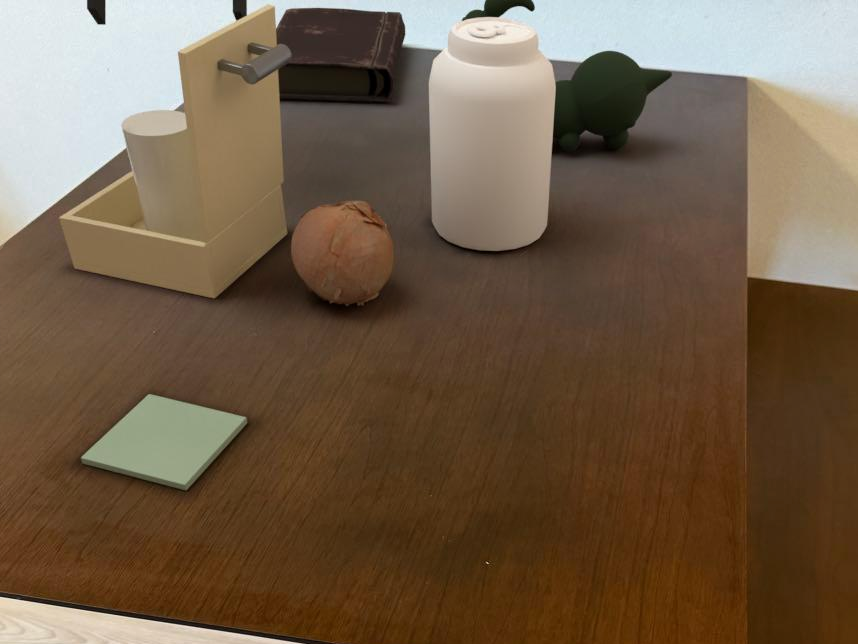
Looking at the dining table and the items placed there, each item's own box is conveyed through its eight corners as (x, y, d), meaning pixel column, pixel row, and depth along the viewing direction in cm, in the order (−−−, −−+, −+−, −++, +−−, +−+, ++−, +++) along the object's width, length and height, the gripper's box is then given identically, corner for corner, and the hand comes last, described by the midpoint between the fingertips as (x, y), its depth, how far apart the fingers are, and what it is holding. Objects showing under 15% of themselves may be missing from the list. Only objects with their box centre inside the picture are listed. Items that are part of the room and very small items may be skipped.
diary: (406, 45, 148) (404, 9, 145) (395, 104, 130) (393, 65, 127) (284, 41, 148) (279, 5, 144) (255, 100, 130) (250, 60, 126)
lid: (177, 51, 76) (228, 64, 76) (267, 4, 86) (313, 15, 86) (200, 241, 88) (244, 254, 87) (277, 180, 98) (318, 191, 97)
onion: (379, 309, 97) (417, 216, 93) (361, 335, 89) (402, 233, 84) (291, 268, 96) (325, 171, 91) (264, 290, 87) (300, 184, 83)
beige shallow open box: (74, 268, 95) (58, 217, 91) (158, 208, 105) (147, 160, 101) (214, 298, 92) (204, 246, 88) (287, 233, 102) (281, 184, 98)
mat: (82, 463, 73) (80, 457, 73) (150, 399, 80) (148, 393, 79) (186, 490, 72) (184, 484, 71) (247, 423, 78) (246, 417, 77)
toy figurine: (473, 173, 119) (674, 157, 119) (459, 3, 106) (685, -14, 106) (471, 143, 126) (661, 128, 126) (457, -20, 113) (670, -36, 113)
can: (461, 263, 99) (461, 54, 85) (413, 213, 106) (406, 14, 93) (568, 241, 103) (584, 39, 89) (514, 194, 111) (521, 2, 97)
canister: (137, 251, 96) (106, 129, 88) (173, 224, 101) (147, 105, 92) (193, 263, 95) (168, 140, 87) (227, 235, 99) (206, 116, 91)
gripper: (303, -164, 98) (305, 42, 98) (52, -172, 97) (52, 36, 96) (291, -224, 91) (292, -2, 90) (18, -234, 89) (17, -8, 89)
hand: (168, 18), depth 93 cm, fingers open, 13 cm apart
